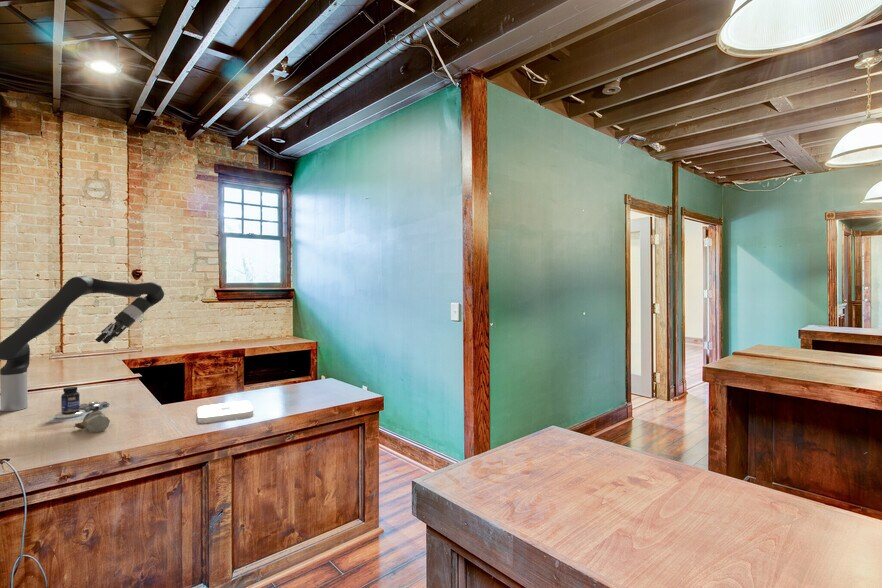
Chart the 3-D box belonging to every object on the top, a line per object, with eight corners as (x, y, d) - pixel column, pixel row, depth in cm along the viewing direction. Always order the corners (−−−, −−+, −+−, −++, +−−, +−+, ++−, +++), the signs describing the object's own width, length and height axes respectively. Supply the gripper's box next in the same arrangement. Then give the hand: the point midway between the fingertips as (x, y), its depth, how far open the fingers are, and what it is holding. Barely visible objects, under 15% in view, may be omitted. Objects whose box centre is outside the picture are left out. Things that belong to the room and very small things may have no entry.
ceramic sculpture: (83, 414, 166) (72, 410, 175) (83, 436, 166) (73, 431, 175) (116, 408, 174) (104, 404, 183) (117, 429, 174) (105, 425, 183)
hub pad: (59, 414, 191) (59, 411, 191) (88, 411, 196) (88, 408, 196) (51, 420, 182) (51, 417, 182) (81, 417, 187) (81, 414, 187)
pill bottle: (68, 415, 186) (68, 389, 185) (57, 414, 187) (57, 389, 187) (83, 411, 192) (83, 386, 191) (72, 410, 193) (72, 385, 193)
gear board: (65, 411, 200) (65, 408, 200) (110, 407, 208) (110, 404, 208) (45, 426, 179) (45, 422, 179) (96, 420, 186) (96, 417, 186)
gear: (78, 406, 203) (78, 400, 203) (111, 403, 209) (111, 397, 209) (69, 413, 192) (69, 407, 192) (104, 409, 198) (104, 404, 198)
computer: (254, 417, 192) (253, 411, 192) (197, 424, 181) (197, 418, 181) (249, 405, 211) (249, 400, 211) (197, 412, 200) (197, 406, 200)
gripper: (116, 310, 211) (87, 335, 201) (128, 311, 203) (99, 337, 193) (128, 320, 215) (101, 345, 206) (141, 321, 207) (113, 348, 198)
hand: (100, 341), depth 200 cm, fingers open, 8 cm apart
